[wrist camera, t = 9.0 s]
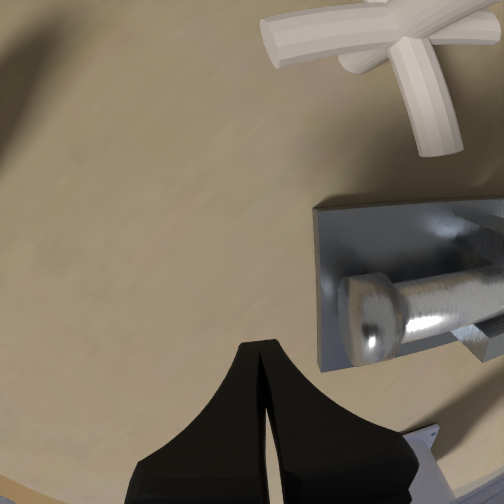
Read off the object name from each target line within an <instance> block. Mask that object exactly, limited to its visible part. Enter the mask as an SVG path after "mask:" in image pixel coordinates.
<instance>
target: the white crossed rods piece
mask: <svg viewBox="0 0 504 504" xmlns="http://www.w3.org/2000/svg"><path fill="white" fill-rule="evenodd" d="M363 1H364V3H360V4H348V5H338V6H329V7H321V8H314V9H308V10H302V11H296V12H290V13H285V14H280V15H275V16H271V17H266V18H262V19H261V20H260V29H261V33H262V38H263V42H264V44H265V47H266V50H267V53H268V55H269V57H270V59H271V62H272V63H273V65H274V66H275V67H276V68H280V67H284V66H289V65H293V64H297V63H301V62H306V61H311V60H315V59H320V58H325V57H331V56H336V55H338V59H339V62H340V64H341V65H342V66H343V68H344V69H346V70H347V71H348V72H351V73H353V74H363V73H366V72H367V71H369V70H370V69H372V68H374V67H375V66H377V65H379V64H380V63H382V62H384V61H385V60H387V59H389V60H390V62H391V65H392V68H393V70H394V73H395V76H396V79H397V81H398V84H399V87H400V90H401V93H402V96H403V99H404V102H405V106H406V109H407V112H408V115H409V119H410V122H411V126H412V129H413V133H414V137H415V141H416V144H417V148H418V153H419V156H421V157H435V156H443V155H448V154H453V153H457V152H460V151H463V149H464V147H463V143H462V138H461V134H460V130H459V126H458V122H457V118H456V114H455V111H454V107H453V104H452V100H451V97H450V94H449V90H448V87H447V84H446V81H445V78H444V75H443V72H442V69H441V67H440V64H439V61H438V58H437V56H436V53H435V51H434V48H433V45H441V44H477V45H495V44H496V43H497V42H498V41H499V40H500V36H501V29H500V24H499V21H498V20H497V18H496V17H495V15H494V14H493V13H492V12H490V11H489V10H487V9H485V8H486V7H488V6H490V5H493V4H495V3H497V2H500V1H502V0H363Z"/></svg>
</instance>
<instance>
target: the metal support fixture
mask: <svg viewBox="0 0 504 504" xmlns="http://www.w3.org/2000/svg"><path fill="white" fill-rule="evenodd" d="M312 211H313V226H314V244H315V265H316V292H317V363H318V365H319V368H320V371H321V373H322V372H328V371H334V370H339V369H345V368H350V367H355V366H353V365H352V363H351V362H350V360H349V359H348V356H347V354H346V351H345V348H344V345H343V341H342V336H341V331H340V324H339V315H338V293H339V287H340V283H341V281H342V279H343V278H344V277H349V276H356V275H363V274H370V273H377V272H382V273H384V274H385V275H386V276H387V277H388V278H389V279H390V280H391V282H392V284H393V283H399V282H405V281H411V280H416V279H422V278H428V277H433V276H439V275H444V274H449V273H454V272H459V271H464V270H469V269H474V268H479V267H484V266H489V265H494V264H495V265H497V266H499V267H501V268H502V269H504V196H490V197H466V198H445V199H427V200H411V201H396V202H382V203H369V204H356V205H344V206H333V207H321V208H312ZM457 340H460V341H461V342H462V343H463V344H464V345H465V346H466V347H467V348H468V349H469V350H470V351H471V352H472V353H473V354H474V355H475V356H476V357H477V358H478V359H479V360H480V361H481V362H482V363H484V362H486V361H489V360H491V359H494V358H496V357H498V356H501V355H503V354H504V314H502V315H499V316H496V317H493V318H490V319H487V320H484V321H481V322H478V323H475V324H472V325H469V326H465V327H462V328H459V329H455V330H452V331H448V332H445V333H441V334H438V335H434V336H430V337H426V338H422V339H419V340H415V341H410V342H406V343H402V344H401V346H400V349H399V351H398V353H397V355H396V356H395V358H396V357H400V356H404V355H408V354H412V353H416V352H419V351H423V350H427V349H430V348H434V347H437V346H441V345H444V344H448V343H451V342H454V341H457Z"/></svg>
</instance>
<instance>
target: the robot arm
mask: <svg viewBox="0 0 504 504" xmlns="http://www.w3.org/2000/svg"><path fill="white" fill-rule="evenodd" d="M266 409H267V413H268V417H269V422H270V426H271V430H272V434H273V439H274V443H275V447H276V451H277V456H278V462H279V470H280V478H281V486H282V494H283V502H284V504H504V473H502V474H500V475H499V476H497V477H496V478H494V479H492V480H490V481H489V482H487V483H485V484H484V485H482V486H480V487H478V488H476V489H475V490H473V491H471V492H469V493H467V494H465V495H463V496H461V497H459V498H457V499H456V498H455V496H454V494H453V492H452V490H451V488H450V486H449V485H448V483H447V481H446V479H445V477H444V475H443V473H442V471H441V470H440V468H439V466H438V464H437V462H436V460H435V459H434V457H433V455H432V453H431V451H430V449H431V447H432V445H433V442H434V440H435V438H436V436H437V433H438V431H439V428H440V427H439V425H438V424H434V425H431V426H429V427H426V428H423V429H420V430H417V431H414V432H411V433H408V434H405V435H402V434H401V433H399V432H396V431H393V430H390V429H387V428H384V427H382V426H379V425H376V424H373V423H371V422H369V421H367V420H365V419H363V418H360V417H358V416H357V415H355V414H353V413H351V412H350V411H348V410H346V409H345V408H343V407H341V406H340V405H338V404H337V403H335V402H334V401H332V400H331V399H330V398H328V397H327V396H326V395H325V394H323V393H322V392H321V391H320V390H318V389H317V388H316V387H315V386H314V385H313V384H312V383H311V382H310V381H309V380H308V379H307V378H306V377H305V376H304V375H303V374H302V373H301V372H300V371H299V370H298V368H297V367H296V366H295V365H294V364H293V363H292V361H291V360H290V359H289V357H288V356H287V355H286V353H285V352H284V350H283V349H282V347H281V345H280V343H279V341H277V340H276V339H271V340H262V341H253V342H244V343H241V344H240V345H239V347H238V350H237V353H236V356H235V358H234V361H233V363H232V365H231V367H230V369H229V371H228V373H227V375H226V377H225V379H224V380H223V382H222V383H221V385H220V387H219V388H218V390H217V391H216V393H215V394H214V396H213V397H212V399H211V400H210V401H209V403H208V404H207V405H206V407H205V408H204V409H203V410H202V411H201V413H200V414H199V415H198V416H197V417H196V418H195V419H194V420H193V421H192V422H191V423H190V424H189V425H188V426H187V427H186V428H185V429H184V430H183V431H182V432H181V433H179V434H178V435H177V436H176V437H175V438H173V439H172V440H171V441H170V442H169V443H167V444H166V445H165V446H163V447H162V448H160V449H159V450H157V451H156V452H154V453H152V454H151V455H149V456H148V457H146V458H144V459H143V460H141V461H139V462H138V463H137V466H136V468H135V470H134V472H133V475H132V477H131V479H130V482H129V486H128V490H127V494H126V498H125V502H124V504H270V499H269V489H268V480H267V470H266V454H265V451H266ZM0 504H16V503H15V502H13V501H12V500H10V499H8V498H5V497H3V496H1V495H0Z"/></svg>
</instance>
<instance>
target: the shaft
mask: <svg viewBox="0 0 504 504" xmlns="http://www.w3.org/2000/svg"><path fill="white" fill-rule="evenodd" d="M502 314H504V269H502V268H501V267H499V266H497V265H495V264H494V265H489V266H484V267H479V268H474V269H469V270H464V271H459V272H454V273H449V274H444V275H439V276H433V277H428V278H422V279H416V280H411V281H405V282H399V283H393V284H392V282H391V280H390V279H389V278H388V277H387V276H386V275H385V274H384V273H382V272H377V273H370V274H363V275H356V276H349V277H344V278H343V279H342V281H341V283H340V287H339V293H338V315H339V324H340V331H341V336H342V341H343V345H344V348H345V351H346V354H347V356H348V359H349V360H350V362H351V363H352V365H353V366H355V367H359V366H364V365H369V364H373V363H378V362H382V361H387V360H391V359H393V358H395V356H396V355H397V353H398V351H399V349H400V346H401V344H402V343H406V342H410V341H415V340H419V339H422V338H426V337H430V336H434V335H438V334H441V333H445V332H448V331H452V330H455V329H459V328H462V327H465V326H469V325H472V324H475V323H478V322H481V321H484V320H487V319H490V318H493V317H496V316H499V315H502Z"/></svg>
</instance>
